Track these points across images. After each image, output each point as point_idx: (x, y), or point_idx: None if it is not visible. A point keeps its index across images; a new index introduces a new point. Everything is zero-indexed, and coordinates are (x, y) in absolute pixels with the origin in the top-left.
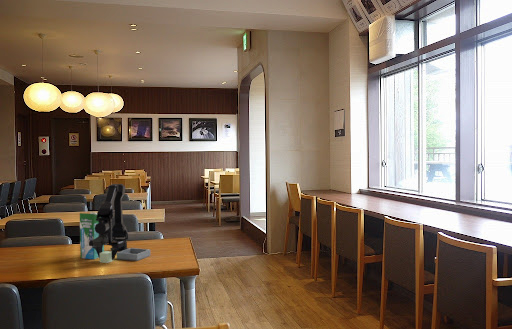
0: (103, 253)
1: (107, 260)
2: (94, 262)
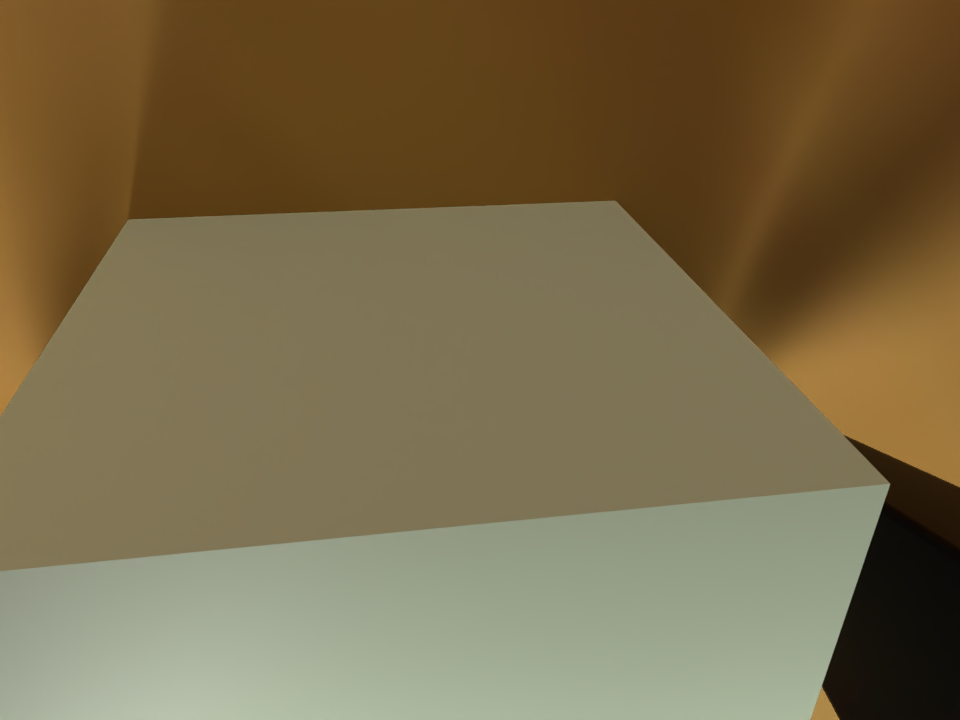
0: (434, 523)
1: (94, 271)
2: (840, 69)
